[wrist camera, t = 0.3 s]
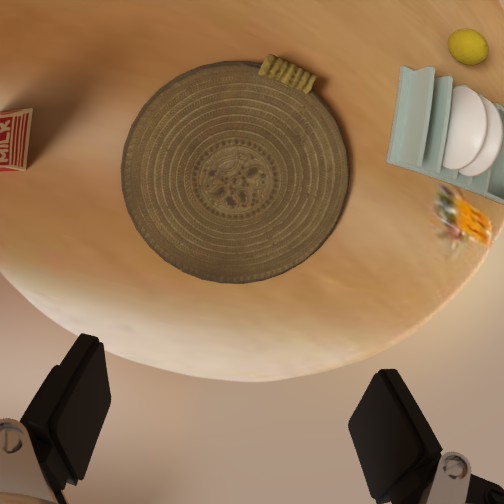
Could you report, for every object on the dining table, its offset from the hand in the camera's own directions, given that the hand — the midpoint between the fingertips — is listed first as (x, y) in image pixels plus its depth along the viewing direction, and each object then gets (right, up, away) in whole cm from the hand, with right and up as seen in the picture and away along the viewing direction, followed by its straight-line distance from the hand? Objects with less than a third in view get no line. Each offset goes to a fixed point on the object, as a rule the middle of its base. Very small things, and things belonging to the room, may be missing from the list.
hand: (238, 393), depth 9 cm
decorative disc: (-2, +15, +28) cm, 31 cm away
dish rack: (+31, +21, +26) cm, 46 cm away
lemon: (+30, +35, +22) cm, 51 cm away
